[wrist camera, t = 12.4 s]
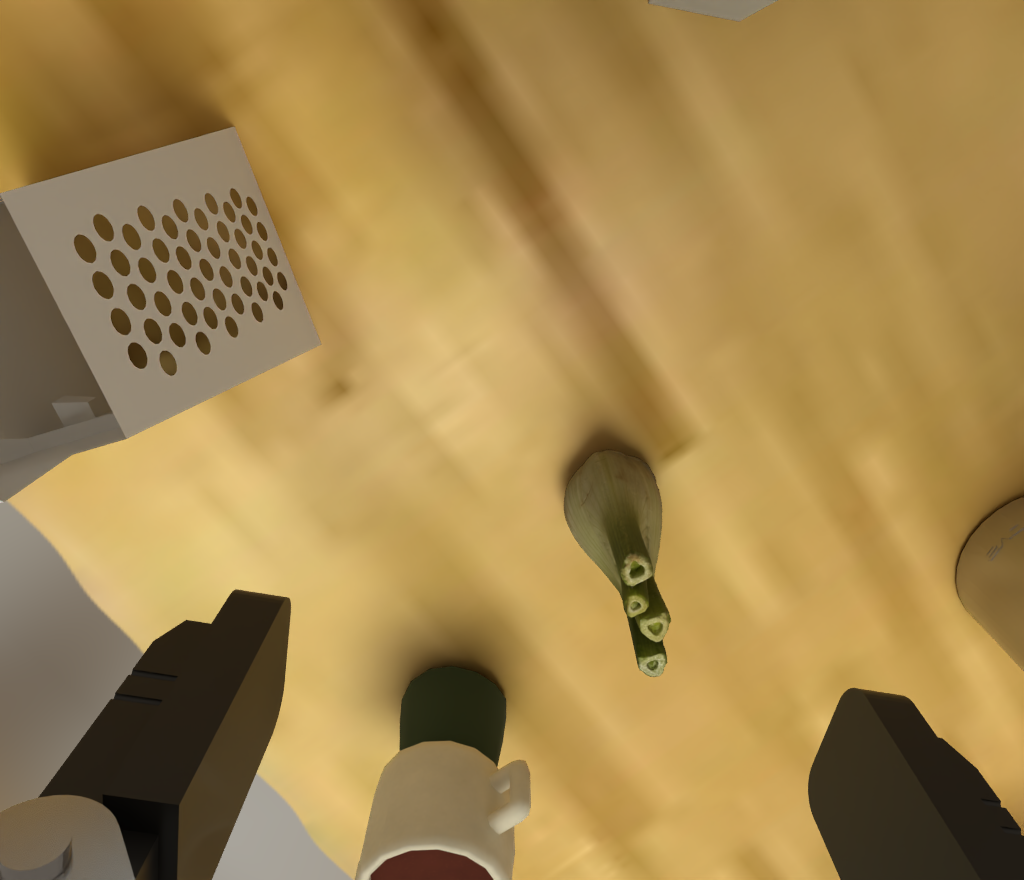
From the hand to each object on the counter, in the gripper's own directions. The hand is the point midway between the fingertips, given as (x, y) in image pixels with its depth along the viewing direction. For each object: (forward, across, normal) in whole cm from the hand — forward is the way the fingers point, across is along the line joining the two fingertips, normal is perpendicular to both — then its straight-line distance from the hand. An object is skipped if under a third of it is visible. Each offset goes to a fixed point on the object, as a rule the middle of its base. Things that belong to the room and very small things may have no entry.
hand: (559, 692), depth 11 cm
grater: (+28, +17, +2) cm, 33 cm away
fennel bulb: (+28, -6, +9) cm, 30 cm away
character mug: (+28, 0, +24) cm, 37 cm away
